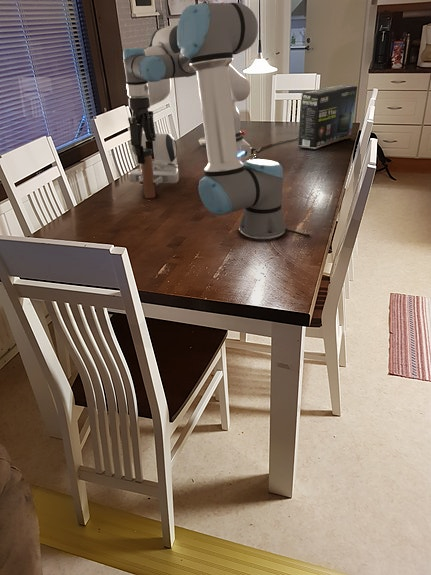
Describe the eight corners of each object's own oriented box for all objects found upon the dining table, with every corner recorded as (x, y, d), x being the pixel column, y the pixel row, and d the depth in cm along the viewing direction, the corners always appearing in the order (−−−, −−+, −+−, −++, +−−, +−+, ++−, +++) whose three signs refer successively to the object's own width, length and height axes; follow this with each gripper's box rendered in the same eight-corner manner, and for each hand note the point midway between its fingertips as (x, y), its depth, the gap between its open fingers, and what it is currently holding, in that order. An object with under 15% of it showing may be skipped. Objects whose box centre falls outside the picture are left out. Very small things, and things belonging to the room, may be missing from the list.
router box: (314, 151, 231) (318, 94, 217) (296, 148, 237) (299, 92, 224) (352, 138, 251) (358, 85, 238) (335, 135, 258) (340, 83, 245)
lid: (152, 155, 172) (151, 151, 172) (138, 156, 172) (137, 152, 171) (152, 152, 177) (151, 147, 176) (138, 153, 176) (138, 148, 176)
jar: (142, 196, 184) (137, 151, 175) (152, 193, 186) (147, 149, 177) (147, 199, 180) (142, 154, 171) (157, 196, 183) (153, 152, 173)
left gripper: (134, 163, 191) (121, 173, 180) (181, 164, 187) (171, 175, 176) (135, 178, 194) (124, 189, 183) (182, 179, 190) (173, 190, 179)
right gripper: (133, 101, 155) (141, 168, 167) (161, 92, 170) (166, 155, 182) (114, 100, 158) (123, 167, 170) (143, 92, 173) (150, 153, 185)
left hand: (147, 182), depth 179 cm, fingers closed on jar, 4 cm apart
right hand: (146, 160), depth 176 cm, fingers open, 6 cm apart
